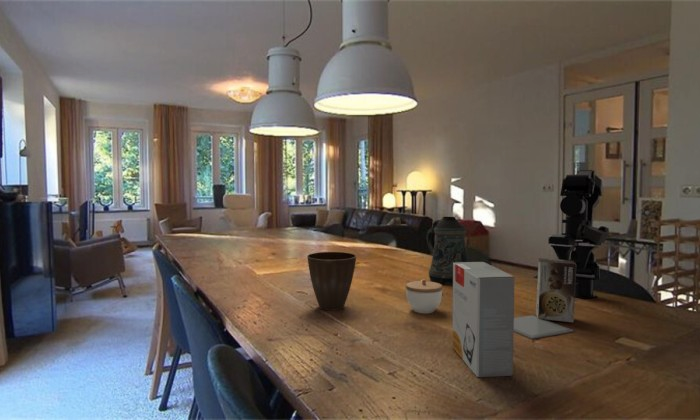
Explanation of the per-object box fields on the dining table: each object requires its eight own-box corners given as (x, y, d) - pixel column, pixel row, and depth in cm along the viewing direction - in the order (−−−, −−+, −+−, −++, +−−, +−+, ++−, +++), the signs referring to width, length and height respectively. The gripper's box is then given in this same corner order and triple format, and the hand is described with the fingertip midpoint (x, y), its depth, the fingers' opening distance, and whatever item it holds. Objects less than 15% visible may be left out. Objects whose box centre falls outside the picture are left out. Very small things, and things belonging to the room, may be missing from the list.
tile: (531, 316, 123) (531, 314, 123) (574, 331, 110) (574, 330, 110) (492, 322, 118) (492, 320, 118) (531, 339, 105) (531, 337, 105)
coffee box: (570, 317, 122) (573, 260, 122) (573, 323, 116) (577, 263, 116) (535, 313, 125) (538, 257, 125) (537, 318, 119) (540, 260, 119)
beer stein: (465, 287, 158) (466, 219, 157) (415, 282, 168) (415, 217, 167) (476, 279, 173) (477, 216, 171) (429, 274, 182) (429, 215, 181)
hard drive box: (451, 348, 99) (451, 261, 98) (483, 347, 100) (484, 261, 99) (476, 378, 84) (477, 276, 83) (514, 376, 84) (516, 275, 83)
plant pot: (363, 303, 137) (363, 253, 136) (343, 316, 124) (343, 261, 123) (322, 298, 143) (322, 250, 142) (298, 310, 130) (297, 257, 129)
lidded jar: (419, 303, 137) (420, 274, 137) (449, 310, 129) (449, 279, 129) (398, 310, 130) (398, 279, 129) (428, 318, 122) (428, 285, 121)
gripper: (586, 216, 117) (584, 274, 117) (620, 218, 127) (618, 271, 127) (548, 215, 127) (546, 268, 126) (583, 217, 137) (581, 267, 137)
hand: (574, 269), depth 129 cm, fingers open, 9 cm apart
